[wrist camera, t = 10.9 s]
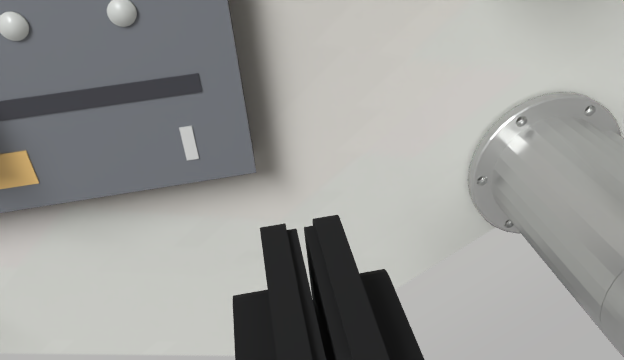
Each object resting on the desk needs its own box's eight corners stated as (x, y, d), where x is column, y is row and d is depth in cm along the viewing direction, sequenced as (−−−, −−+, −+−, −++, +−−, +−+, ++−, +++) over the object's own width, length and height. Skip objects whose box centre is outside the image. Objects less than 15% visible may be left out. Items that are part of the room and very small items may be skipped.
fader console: (219, -50, 33) (220, -42, 30) (253, 152, 40) (256, 174, 38) (-202, 1, 31) (-242, 15, 28) (-87, 205, 38) (-110, 231, 36)
